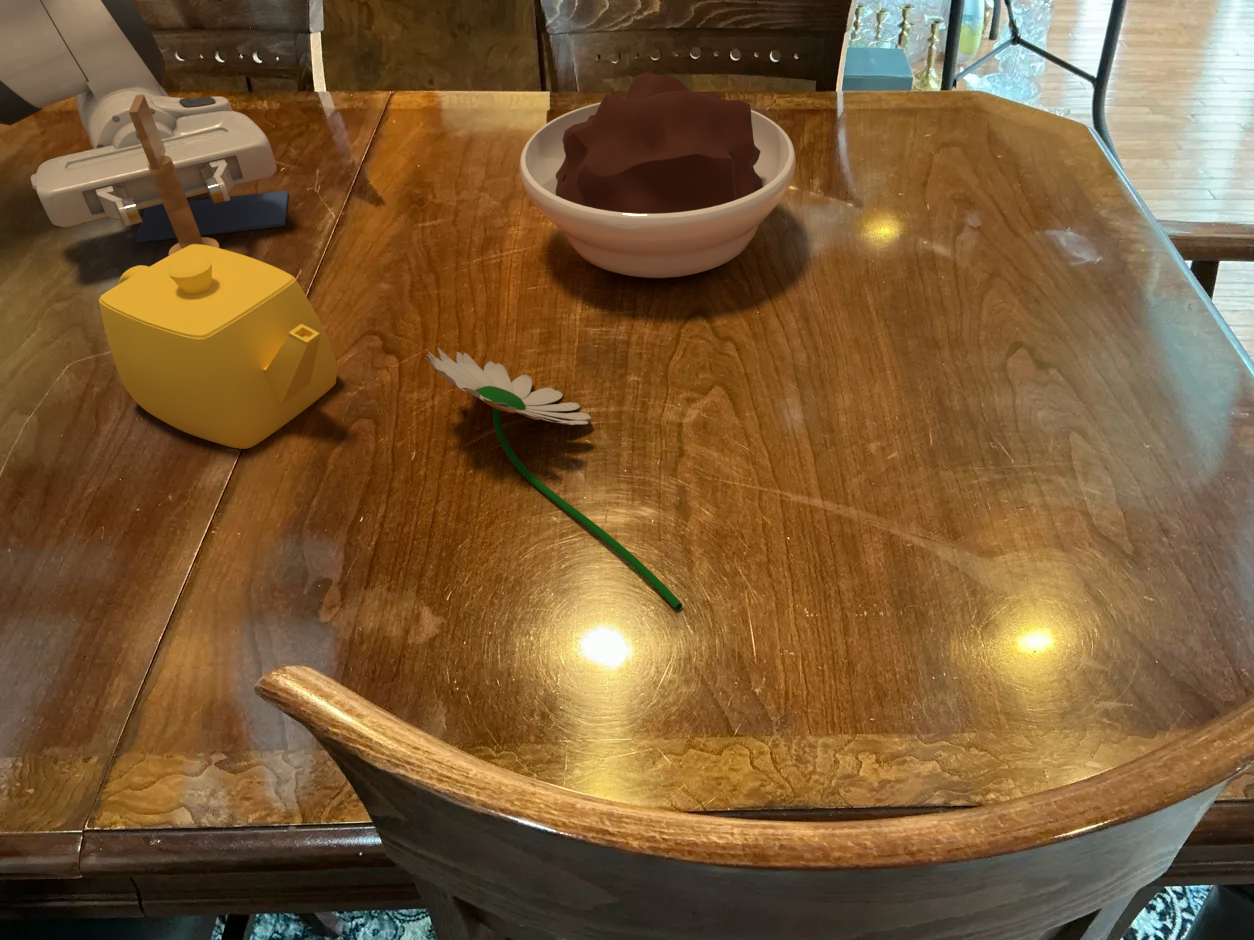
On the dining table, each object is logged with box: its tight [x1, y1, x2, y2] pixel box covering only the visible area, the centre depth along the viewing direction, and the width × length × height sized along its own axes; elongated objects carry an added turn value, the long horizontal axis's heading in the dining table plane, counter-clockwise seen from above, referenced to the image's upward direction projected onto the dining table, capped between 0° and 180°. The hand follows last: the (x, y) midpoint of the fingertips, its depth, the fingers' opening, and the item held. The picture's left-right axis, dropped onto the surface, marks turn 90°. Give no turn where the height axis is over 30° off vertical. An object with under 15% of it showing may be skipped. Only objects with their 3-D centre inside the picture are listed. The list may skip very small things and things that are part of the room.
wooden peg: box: [129, 94, 221, 256], centre depth 95 cm, size 4×4×16 cm
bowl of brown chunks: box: [518, 72, 797, 279], centre depth 98 cm, size 25×25×15 cm
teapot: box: [98, 244, 338, 450], centre depth 83 cm, size 20×12×12 cm, turn 61°
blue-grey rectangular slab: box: [134, 190, 290, 243], centre depth 108 cm, size 14×7×1 cm, turn 102°
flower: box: [423, 347, 683, 611], centre depth 77 cm, size 13×6×30 cm
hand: (176, 205), depth 95 cm, fingers open, 6 cm apart
